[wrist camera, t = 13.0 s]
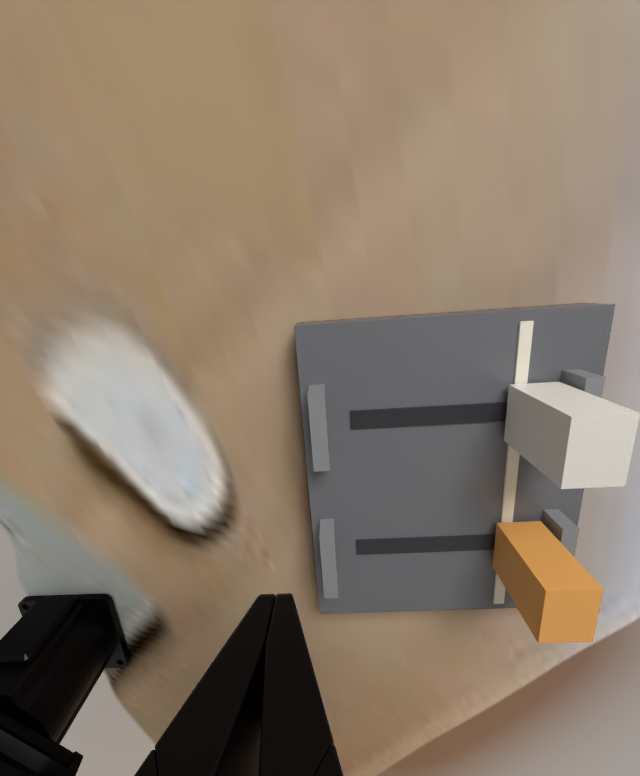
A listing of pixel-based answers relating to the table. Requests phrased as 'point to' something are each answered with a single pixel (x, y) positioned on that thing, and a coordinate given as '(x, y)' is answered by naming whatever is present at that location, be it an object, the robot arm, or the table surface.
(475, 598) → the panel
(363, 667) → the table surface
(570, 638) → the fader orange
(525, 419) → the block
